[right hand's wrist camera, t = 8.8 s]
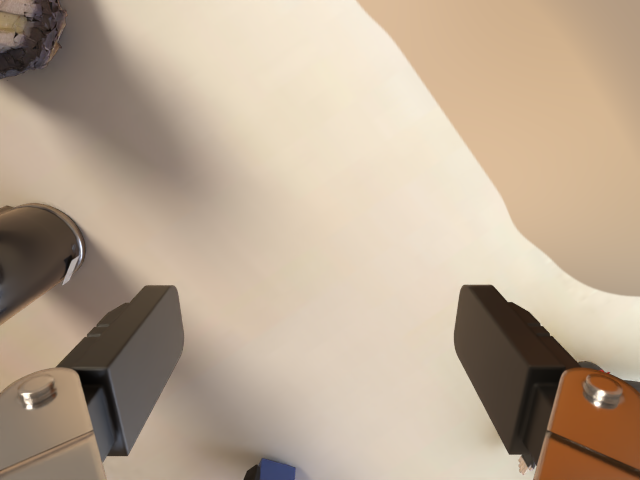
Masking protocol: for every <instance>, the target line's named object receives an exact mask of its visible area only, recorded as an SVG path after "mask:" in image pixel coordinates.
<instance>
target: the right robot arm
mask: <svg viewBox="0 0 640 480" xmlns="http://www.w3.org/2000/svg"><path fill="white" fill-rule="evenodd" d="M84 258H85V243H84V239H83V236H82V234H81V232H80V230H79V229H78V227H77V226H76V224H75V223H74V222H73V221H72V220H71V219H70V218H69V217H68V216H67V215H65V214H64V213H62V212H61V211H59V210H57V209H55V208H53V207H51V206H48V205H44V204H38V203H29V204H23V205H20V206H18V207H15V208H13V207H10V206H5V207H2V208H0V325H1V324H3V323H4V322H6V321H7V320H8V319H10V318H11V317H13V316H14V315H15V314H17V313H18V312H19V311H21V310H22V309H24V308H25V307H26V306H28V305H29V304H30V303H32V302H33V301H35V300H36V299H37V298H39V297H40V296H42V295H43V294H44V293H46V292H47V291H48V290H50V289H51V288H53V287H54V286H55V285H57V284H58V283H60V282H61V281H62V280H64V281H63V284H62V285H64V284H65V283H66V282H68V281H69V280H70V277H71V275H72V274H73V273H75V272H76V271H77V270H78V269H79V268H80V266H81V265H82V263H83V261H84ZM183 345H184V331H183V324H182V317H181V310H180V303H179V296H178V291H177V289H176V287H175V286H173V285H147V286H145V287H144V288H143V289H142V290H141V291H140V292H139V293H138V294H137V295H136V296H135V297H134V299H133V300H132V301H131V302H130V303H124V304H123V305H121V306H119V307H117V308H116V309H114V310H112V311H111V312H109V313H108V314H107V315H106V316H105V317H104V318H103V319H102V320H101V321H100V322H99V323H98V324H97V327H94V328H93V329H92V330H91V331H90V332H89V333H88V334H87V337H84V338H83V339H82V341H81V342H80V343H79V344H78V345H77V346H76V347H75V348H74V349H73V350H72V351H71V352H70V353H69V354H68V355H67V356H66V357H65V358H64V359H63V360H62V361H61V362H60V363H59V364H58V365H57V367H56V368H49V369H44V370H41V371H37V372H34V373H32V374H29V375H27V376H25V377H22V378H20V379H19V380H17V381H15V382H14V383H12V384H10V385H9V386H8V387H6V388H5V389H4V390H3V391H2V392H1V393H0V480H107V478H106V475H105V471H104V467H103V462H104V460H105V458H106V456H128V455H129V453H130V451H131V449H132V447H133V445H134V443H135V441H136V439H137V438H138V436H139V434H140V432H141V430H142V428H143V426H144V424H145V422H146V421H147V419H148V417H149V415H150V413H151V411H152V409H153V407H154V405H155V404H156V402H157V400H158V398H159V396H160V394H161V392H162V390H163V388H164V387H165V385H166V383H167V381H168V379H169V377H170V375H171V373H172V371H173V370H174V368H175V366H176V364H177V362H178V360H179V358H180V356H181V354H182V350H183ZM454 345H455V350H456V353H457V356H458V358H459V360H460V361H461V363H462V365H463V367H464V369H465V371H466V373H467V375H468V377H469V379H470V381H471V383H472V384H473V386H474V388H475V390H476V392H477V394H478V396H479V398H480V400H481V402H482V404H483V405H484V407H485V409H486V411H487V413H488V415H489V417H490V419H491V421H492V423H493V425H494V426H495V428H496V430H497V432H498V434H499V436H500V438H501V440H502V442H503V444H504V446H505V448H506V449H507V451H508V453H509V455H530V456H531V457H532V459H533V461H534V462H535V464H536V466H537V467H536V471H535V475H534V478H533V480H640V393H639V392H638V391H637V390H636V389H635V388H634V387H632V386H631V385H630V384H628V383H626V382H625V381H623V380H621V379H620V378H618V377H615V376H613V375H611V374H608V373H606V372H603V371H599V370H596V369H591V368H582V367H581V366H580V365H579V364H578V363H577V362H576V361H575V360H574V359H573V357H572V356H571V355H570V354H569V353H568V352H567V351H566V350H565V349H564V348H563V347H562V346H561V345H560V344H559V343H558V342H557V341H556V340H555V339H554V338H553V336H550V333H549V332H548V331H547V330H546V329H545V328H544V327H543V326H541V325H540V323H539V322H538V321H537V320H536V319H535V318H534V317H533V316H532V314H531V313H530V312H528V311H526V310H525V309H523V308H521V307H520V306H518V305H516V304H514V303H513V302H507V301H506V300H505V299H504V297H503V296H502V295H501V294H500V293H499V292H498V291H497V290H496V288H495V287H494V286H492V285H463V286H462V288H461V290H460V295H459V302H458V309H457V316H456V323H455V330H454Z"/></svg>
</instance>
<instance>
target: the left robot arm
mask: <svg viewBox="0 0 640 480" xmlns="http://www.w3.org/2000/svg"><path fill="white" fill-rule="evenodd" d="M260 473H261V470H260V467H259V466H258V465H255V466H254V467H252V468H251V469H249V470H248V471H247V473H246V475H245V477H244V480H260Z"/></svg>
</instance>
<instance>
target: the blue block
mask: <svg viewBox="0 0 640 480" xmlns="http://www.w3.org/2000/svg"><path fill="white" fill-rule="evenodd" d="M259 467H260V470H261V473H260V480H295V467H291V466H288V465H285V464H281V463H278V462H274V461H271V460H267V459H264V458H262V459H261V462H260V464H259Z"/></svg>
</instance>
